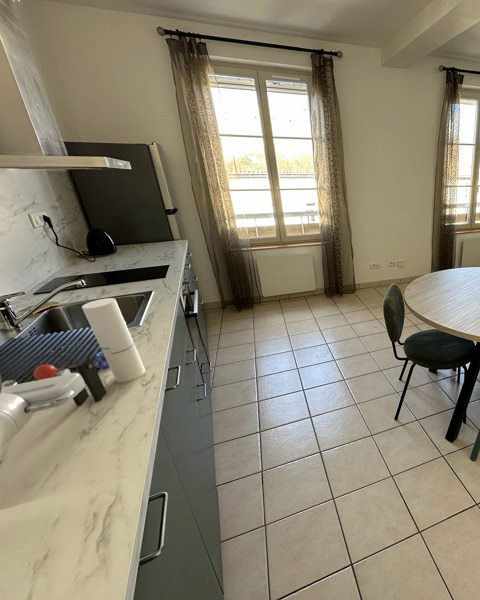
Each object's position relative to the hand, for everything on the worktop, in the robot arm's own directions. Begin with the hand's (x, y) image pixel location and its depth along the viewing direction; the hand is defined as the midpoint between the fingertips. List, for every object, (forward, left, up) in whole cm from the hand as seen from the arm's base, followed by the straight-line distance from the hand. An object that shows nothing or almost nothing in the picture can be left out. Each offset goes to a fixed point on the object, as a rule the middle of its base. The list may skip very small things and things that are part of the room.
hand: (39, 377), depth 73 cm
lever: (0, +6, -4) cm, 7 cm away
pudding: (-3, +33, -16) cm, 37 cm away
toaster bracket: (0, +12, -16) cm, 20 cm away
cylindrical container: (+6, +21, -16) cm, 27 cm away
